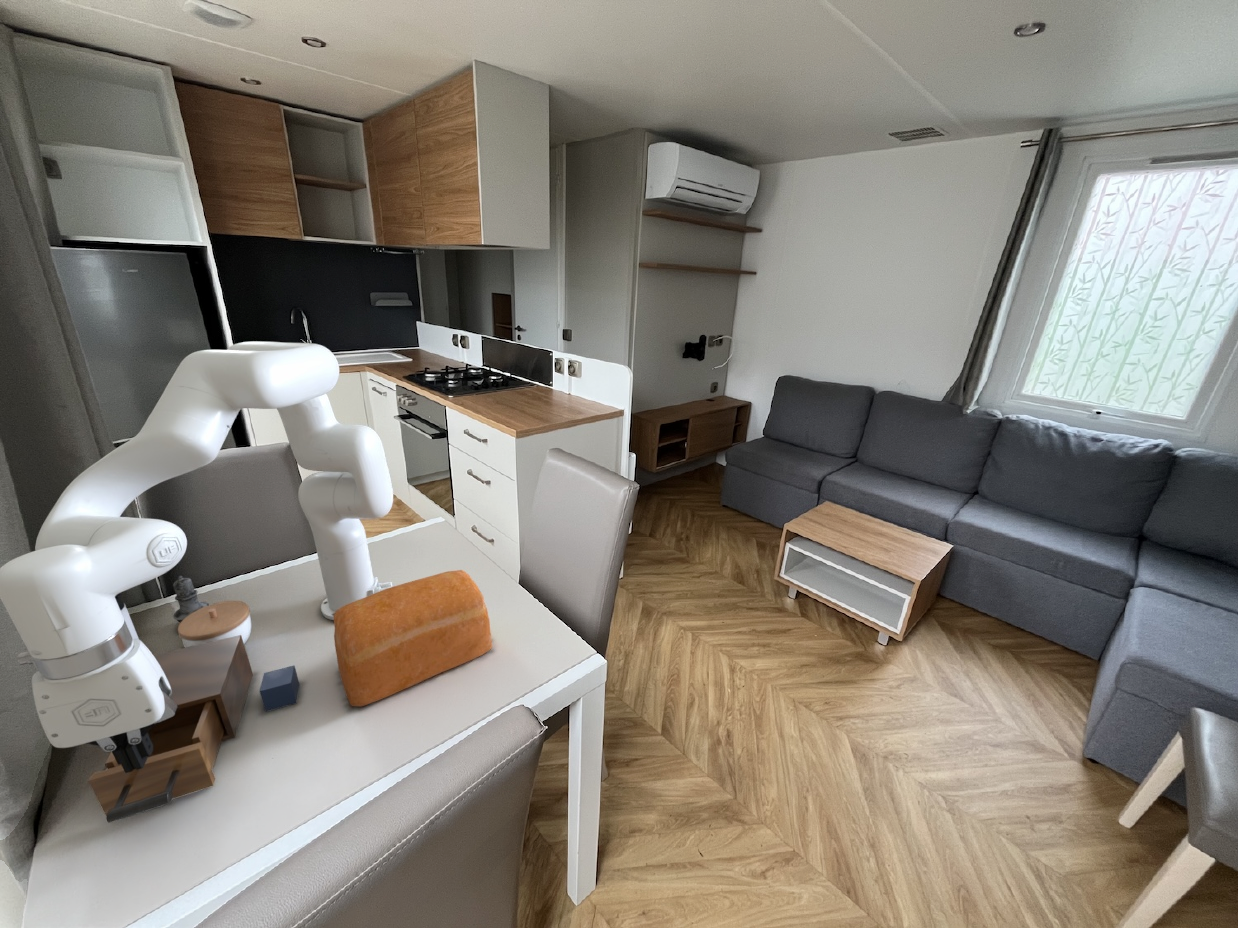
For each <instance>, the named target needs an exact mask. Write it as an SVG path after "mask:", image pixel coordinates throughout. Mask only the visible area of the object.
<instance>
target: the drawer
mask: <svg viewBox="0 0 1238 928" xmlns="http://www.w3.org/2000/svg"><path fill="white" fill-rule="evenodd" d="M224 731H225V726H224V723H223V720H222V717H221V715H220V712H219V709H218V706H217V703H216V700H211V701H207V702H203V703H199V704H196V705H192V706H188V707H184V708H181V709H177V710H176V712H175V715H174V716H173V717H170V718H168V719H166V720H164V721H162V722H159V723H155V724H154V726H153V727H152V728H151V729H150V730H149V731H148V732H147V733H148V735H149V737H150V739H151V742H152V744H153V752H152V754H151V755H150V756H148V758H147V760H146V763H145V765H144V767H143V768H142V769H138V770H136V769H134V770H133V771H132V772H128V773H125V771H124V769H123V767H122V765H121V764H120V765H119V764H118V763H117V761H116V759H115V757H114V755H113V753H112V751H111V752H110V754H109V755H108V756H107V759H106V761H105V763H104V765H105V767H106V769H104V770H103V769H102V770H100V771H97V772H93V773H92V774H91V776H90V777H89V779H88V780H87V781H88V784H89V785H90V788H91V789H92V792H93V793H94V796H95V797H96V799H97V801H98V803H99V806H100V808H101V809H102V811H103V814H104V815H105V819H106V822H107V823H108V824H110V823H113V822H117V821H119V820H123V819H125V818H128V817H131V816H135V815H137V814H141V813H144V812H148V811H150V810H153V809H157V808H160V807H162V806H165V805H168V804H171V803H172V801H173V799H177V798H180V797H184V796H186V795H189V794H192V793H196V792H199V791H202V790H205V789H208V788H211V787H213V786H214V785H215V782H216V776H215V773H214V771H213V768H214V765H215V762H216V759H217V756H218V752H219V749H220V745H221V743H222V742H221V740H222V737H223V734H224Z"/></svg>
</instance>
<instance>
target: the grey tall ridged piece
mask: <svg viewBox="0 0 1238 928" xmlns="http://www.w3.org/2000/svg"><path fill="white" fill-rule="evenodd" d="M177 578H178V579H177V580H175V581H174V582H173V585H172V586H173V589H174V592H175V597H174V600H175V601H177V602H178V605H179V608H178V609H177V610H176V611H175V612H174V613H173V614H172V617H173V619H174V620H176V622H178V623H179V624H180V623H181V622H182V621H183V620H184V619H185V618H186V617H187V616H189V615H190V614H192V613H193V612H195V611H197V610H199V609H201V608H203V607H206V606H209V605H210V603H209V602H207V601H200V600H199V598H198V595H197V594H198V592H199V591H198V590H197V589H195V587H194V584H193V581H192V579H191V578H190V577H183V576H182V575H179V576H178V577H177Z"/></svg>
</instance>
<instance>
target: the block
mask: <svg viewBox="0 0 1238 928" xmlns="http://www.w3.org/2000/svg"><path fill="white" fill-rule="evenodd" d="M300 686H301V685H300V681H299V677H298V674H297V669H296V666H295V665H294V664H293V665H290V666H286V667H282V668H278V669H274V670H271V671H266V672H264V673H263V676H262V679H261V684H260V688H259V691H258V692H259V695H260V698H261V702H262V705H263V708H264V711H265V712H270V711H273V710H278V709H280V708H284V707H288V706H291V705H295V704H297V703H298V697H299V691H300Z"/></svg>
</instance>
